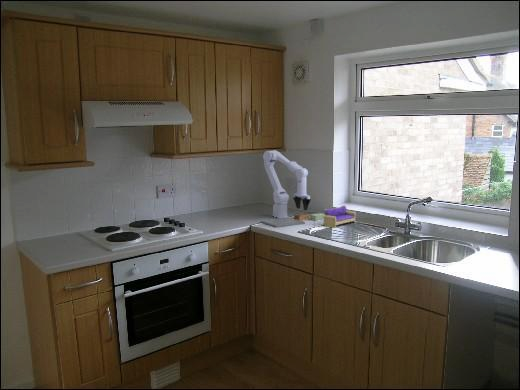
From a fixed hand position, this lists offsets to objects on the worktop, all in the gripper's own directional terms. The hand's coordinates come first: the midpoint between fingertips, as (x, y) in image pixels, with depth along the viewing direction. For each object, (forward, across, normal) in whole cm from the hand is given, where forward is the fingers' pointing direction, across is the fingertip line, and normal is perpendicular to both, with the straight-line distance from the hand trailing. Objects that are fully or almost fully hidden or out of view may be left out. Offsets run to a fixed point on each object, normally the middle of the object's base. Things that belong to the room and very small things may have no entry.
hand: (301, 209), depth 284 cm
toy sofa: (+7, -24, -10) cm, 27 cm away
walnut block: (+7, 0, 0) cm, 7 cm away
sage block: (+7, -5, -9) cm, 12 cm away
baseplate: (+7, -2, +16) cm, 17 cm away
